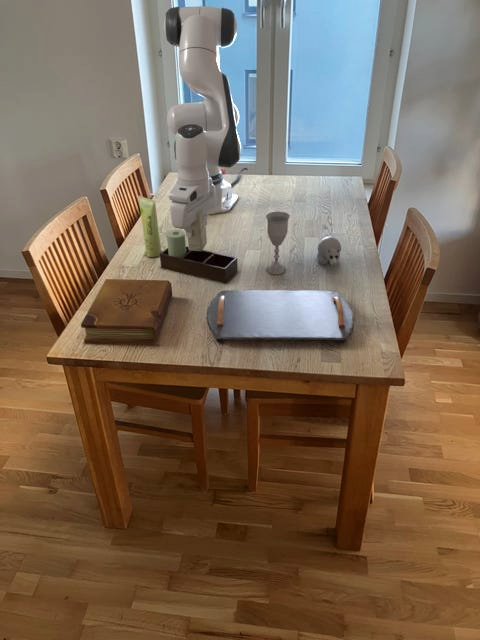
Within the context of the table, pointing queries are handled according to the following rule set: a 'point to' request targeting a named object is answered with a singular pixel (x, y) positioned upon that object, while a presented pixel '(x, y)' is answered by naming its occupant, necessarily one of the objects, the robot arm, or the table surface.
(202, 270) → the rack
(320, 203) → the table surface
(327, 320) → the serving tray
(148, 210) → the tube
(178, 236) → the towel roll
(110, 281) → the diary
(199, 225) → the cosmetic box
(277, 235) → the chalice
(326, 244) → the round bodied animal figurine
